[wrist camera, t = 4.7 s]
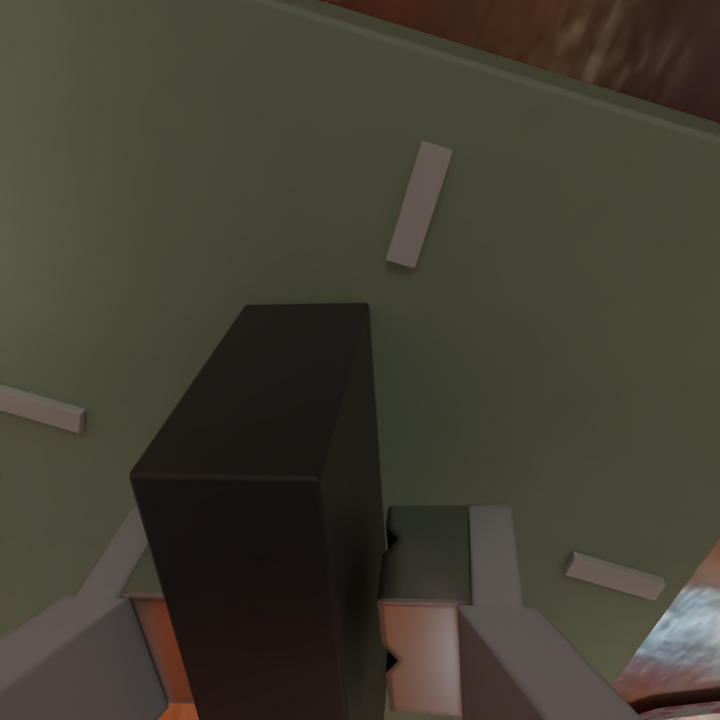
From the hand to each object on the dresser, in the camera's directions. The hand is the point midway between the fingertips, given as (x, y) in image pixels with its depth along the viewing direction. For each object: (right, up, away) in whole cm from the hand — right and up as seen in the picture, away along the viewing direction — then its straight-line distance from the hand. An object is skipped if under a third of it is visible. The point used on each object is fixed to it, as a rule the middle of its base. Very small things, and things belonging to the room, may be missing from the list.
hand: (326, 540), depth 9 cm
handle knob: (0, 0, +1) cm, 1 cm away
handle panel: (0, +2, +4) cm, 4 cm away
